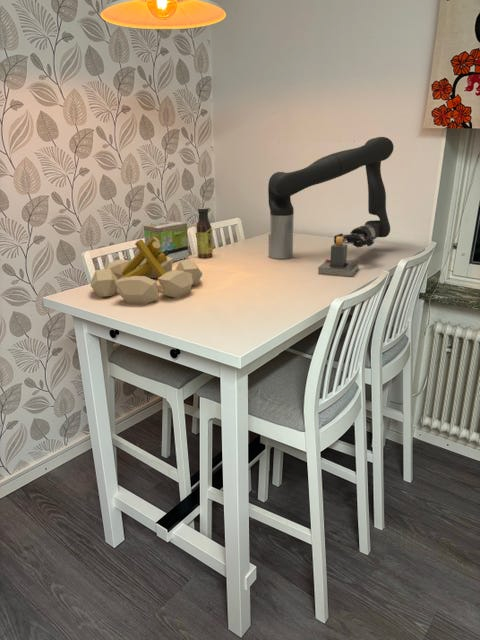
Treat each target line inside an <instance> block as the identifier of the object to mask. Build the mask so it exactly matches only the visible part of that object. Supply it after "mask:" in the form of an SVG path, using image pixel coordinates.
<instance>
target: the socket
mask: <svg viewBox="0 0 480 640" xmlns="http://www.w3.org/2000/svg"><path fill="white" fill-rule="evenodd" d="M330 261H331V259H330V258H329V259H325V260H324V261H323V262H322V263H321V264H320V265H319V266H318V268H317V269H318V270H317V274H318V275H326V276H336V277H346V278H352V277H353V276H354V275H355V274H356V273H357V271H358V270H359V268H360V267H359V264H360V262H359V261H350V260H346V267H335V266H330Z"/></svg>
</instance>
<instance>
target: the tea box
mask: <svg viewBox="0 0 480 640" xmlns="http://www.w3.org/2000/svg"><path fill="white" fill-rule="evenodd" d="M143 235H144V243H145V244H146V243H147V242H148V241H149V240H150V239H151V238H152V237H153V236H154V237H156V238H157V239H158V240H159V242H160V245H161V247H160V250H159V253H158V255H159V254H161V253H164V254H165V256H166V257H171V258H173V263H174V262H176V261H181V260H180V259H182V260H185V259H189V241H188V223H186V222H180V221H172V220H168V221H163V222H157V223H152V224H145V225H143ZM184 258H185V259H184Z"/></svg>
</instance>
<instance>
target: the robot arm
mask: <svg viewBox="0 0 480 640" xmlns="http://www.w3.org/2000/svg"><path fill="white" fill-rule="evenodd" d="M393 152H394V144H393V142H392V140H391V139H390V138H388V137H386V136H377V137H373V138H370V139H368V140H367V141H366V142H365V144H364V145H362V146H358V147H356V148H355V147H354V148H350V149H346V150H341V151H337V152H333V153H331V154H328V155H325V156H322V157H320V158H319V159H316V160H315V161H314V162H312V163H311V164H310V165H308V166H307V167H303V168H302V169H297V170H294V171H290V172H284V171H277V172H274V173H273V174H272V175H271V176H270V177H269V180H268V185H267V187H268V188H267V191H268V192H267V193H268V207H269V212H270V217H269V219H270V223H269V224H270V225H269V227H270V229H269V230H270V233H269V234H268V258H271V259H272V258H273V259H275V260H276V259H277V260H286V259H291V258H293V257H294V217H295V216H294V213H295V212H294V206H293V204H292V200H291V199H292V198H291V196H293V195H296V194H297V193H300V192H301V191H303V190H305V189H307V188H310V187H312V186H317V185H319V184H323V183H326V182H329V181H331V180H334V179H337V178H340V177H342V176H345V175H346V174H349V173H351V172H354V171H355V170H358V169H359V168H362V167H365V172H366V174H365V175H366V181H367V191H368V195H367V197H368V198H367V199H368V203H367V204H368V205H367V208H368V214H370V215H372V216H377V217H378V220H377V219H375V220H368V221H365V223H364V224H363V225H360V226H358V227H356V228H354V229H351V230H352V231H350V233H348V234H344V233H338V234H336V235H334V237H333V240H334V241H333V242H334V244H336V237H338V236H341V237H343V244H345V245H352V246H354V247H356V248H362V247H371V246H372V245H374V243H375V240H376V239H377V238H386V237H388V236H389V234H390V233H391V225H390V222H389V221H390V220H389V218H388V213H387V193H386V188H385V184H384V182H383V178H382V173H381V169H382V168H381V166H382V164H381V163H382V161H386V160H388V159H389V158H390V157H391V156H392V154H393ZM334 244H333V245H334Z"/></svg>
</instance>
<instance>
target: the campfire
mask: <svg viewBox="0 0 480 640" xmlns="http://www.w3.org/2000/svg"><path fill="white" fill-rule="evenodd" d="M134 245H135V246H136V248H137V249H138V252H137V253H136V254H135V256H134V257H133V258H132V259H131V260H127V259H117V260H113V261H111V262H108V265H107V267H106V268H104V269H95V270H94V271H95V272H94V274H93V276H92V277H91V280H90V287H91V288H92V289H93V291H94V292H95V293H96V295H97V296H98V297H99V296H100V298H105V297H112V296H115V294H116V292H117V291H118V294H119V296H120V297H121V298H122V299H123V300H124V301H125V302H126V304H129V305H130V304H133V305H135V304H138V305H139V304H141V305H142V304H143V305H147V304H150V303H152V302H155V301H157V300H158V299H160V295H159V294H160V293H159V289H158V283H157V281H158V282H159V285H160V287H161V289H162V291H163V293H164V295H165V296H166V297H170V298H173V299H174V298H175V299H179V298H181V297H184V296H186V295H188V294H189V293H190V291H191V289H192V286H197V285H198V284H199V281H200V280H201V278H202V276H203V272H202V271H201V269H200V268H199V266H198V264H197V263H196V262H195V261H194V259H193V260H180V261H179V262H178V264H177V266H176V267H175V269H173V264H174V262H173V258H171V257H166V256H165V254H164V253H161V254H159V255H158V253H159V250H160V247H161V245H160V242H159V240H158V239H157V238H156V237H154V236H153V237H152V238H151V239H150V240H149V241H148V242H147V243H146V244H145V240H143V239H139V240H137V241H136V242H135V243H134ZM150 278H158V279H157V280H156V279H150Z"/></svg>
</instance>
